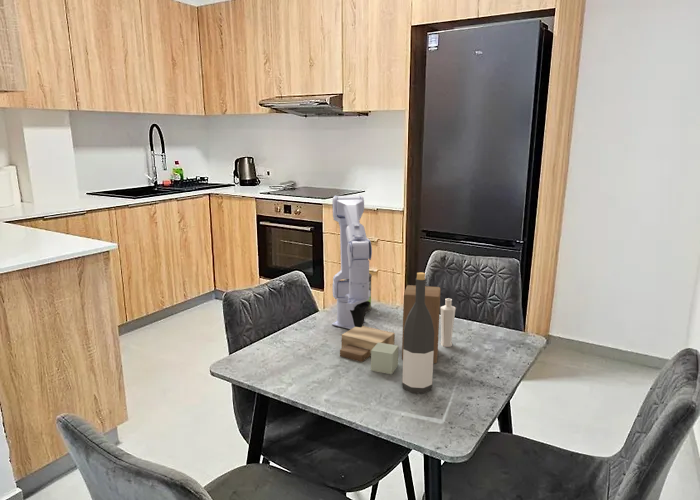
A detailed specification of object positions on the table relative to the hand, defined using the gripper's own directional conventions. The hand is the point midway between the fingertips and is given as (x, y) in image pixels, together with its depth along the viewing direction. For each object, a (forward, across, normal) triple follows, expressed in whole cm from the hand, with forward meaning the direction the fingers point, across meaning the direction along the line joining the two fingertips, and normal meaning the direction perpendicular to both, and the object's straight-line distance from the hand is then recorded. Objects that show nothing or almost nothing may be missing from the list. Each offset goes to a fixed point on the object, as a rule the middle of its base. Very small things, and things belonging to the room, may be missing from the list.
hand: (358, 326), depth 142 cm
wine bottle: (+9, +13, +21) cm, 26 cm away
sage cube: (+9, +6, +10) cm, 15 cm away
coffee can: (+9, -36, -14) cm, 39 cm away
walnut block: (+8, -1, 0) cm, 8 cm away
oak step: (+9, -6, +1) cm, 10 cm away
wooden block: (+9, -6, +17) cm, 20 cm away
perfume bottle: (+9, -16, +23) cm, 30 cm away
